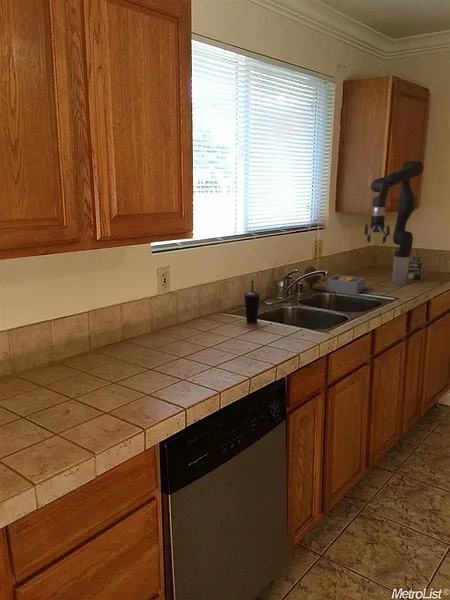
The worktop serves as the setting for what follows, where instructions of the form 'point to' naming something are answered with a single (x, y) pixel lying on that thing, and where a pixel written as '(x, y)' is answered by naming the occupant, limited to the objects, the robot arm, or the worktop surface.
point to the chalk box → (416, 269)
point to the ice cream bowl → (311, 278)
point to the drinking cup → (252, 305)
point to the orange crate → (347, 279)
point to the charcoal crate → (346, 284)
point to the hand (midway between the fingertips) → (376, 242)
